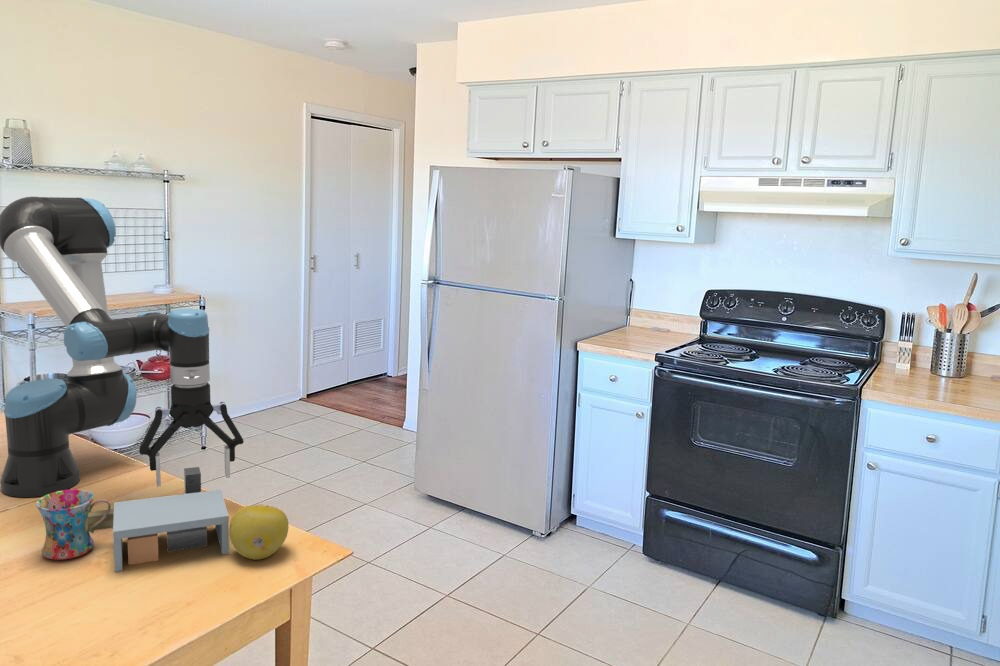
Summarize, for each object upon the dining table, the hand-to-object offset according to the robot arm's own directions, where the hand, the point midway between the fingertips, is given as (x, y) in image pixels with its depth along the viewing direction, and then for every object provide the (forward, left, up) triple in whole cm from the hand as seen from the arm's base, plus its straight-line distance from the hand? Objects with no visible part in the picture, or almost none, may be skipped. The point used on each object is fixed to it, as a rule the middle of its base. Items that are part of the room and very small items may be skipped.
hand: (193, 480), depth 155 cm
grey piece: (+7, -2, -7) cm, 10 cm away
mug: (+11, -21, -7) cm, 25 cm away
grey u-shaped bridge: (+16, -5, -7) cm, 18 cm away
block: (+17, -10, -7) cm, 21 cm away
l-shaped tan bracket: (+2, -19, -7) cm, 20 cm away
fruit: (+24, +10, -7) cm, 27 cm away
